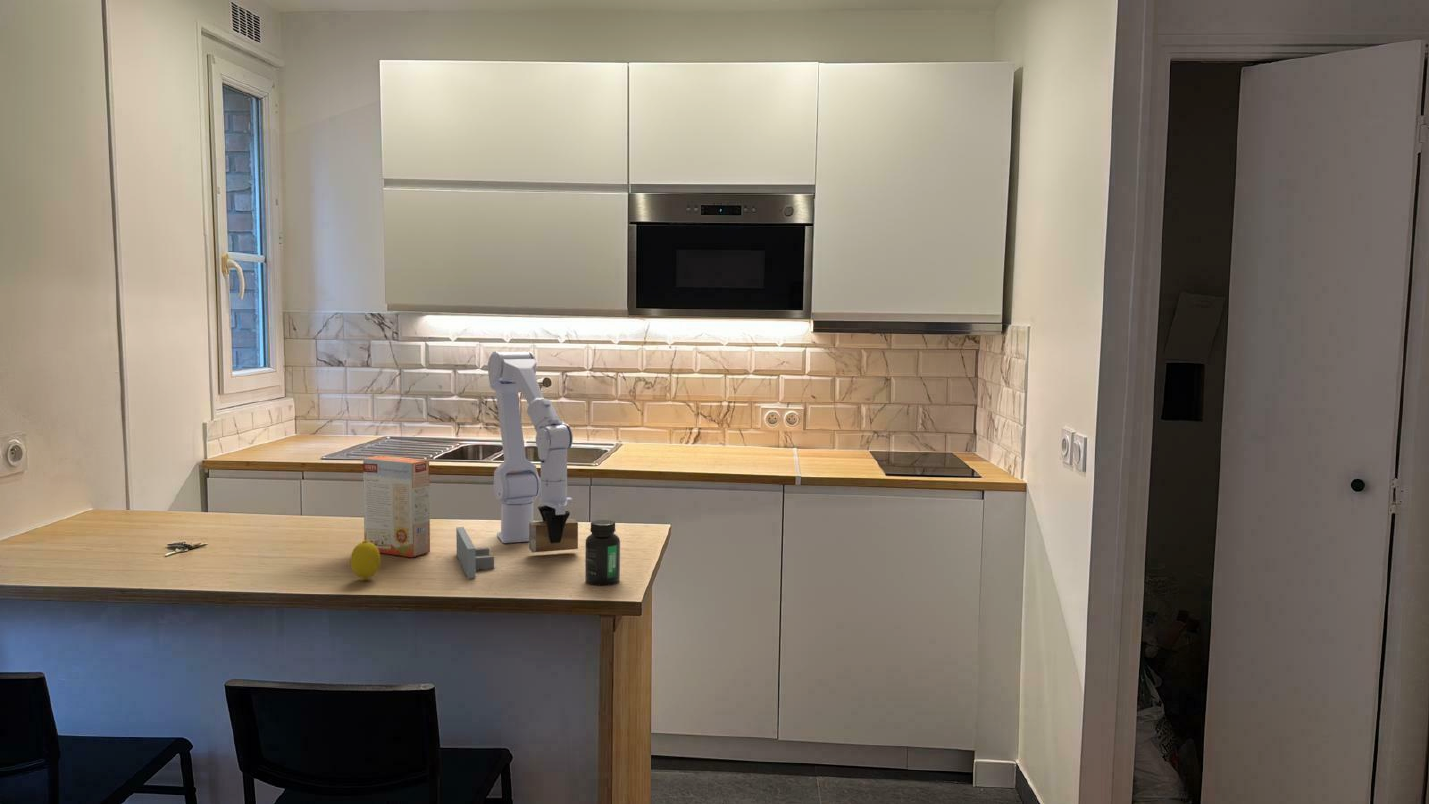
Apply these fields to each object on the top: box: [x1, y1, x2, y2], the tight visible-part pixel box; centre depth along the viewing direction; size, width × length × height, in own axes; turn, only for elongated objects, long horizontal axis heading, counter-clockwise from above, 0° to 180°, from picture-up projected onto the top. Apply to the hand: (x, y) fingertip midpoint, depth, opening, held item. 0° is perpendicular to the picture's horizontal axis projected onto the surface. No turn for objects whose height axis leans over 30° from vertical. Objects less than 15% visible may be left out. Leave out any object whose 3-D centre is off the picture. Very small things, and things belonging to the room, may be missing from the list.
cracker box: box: [362, 455, 431, 558], centre depth 206 cm, size 14×6×21 cm, turn 65°
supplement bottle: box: [584, 519, 621, 587], centre depth 187 cm, size 7×7×12 cm
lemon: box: [350, 539, 381, 581], centre depth 185 cm, size 6×6×8 cm
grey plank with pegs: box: [455, 526, 495, 579], centre depth 198 cm, size 20×6×6 cm, turn 22°
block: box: [528, 518, 579, 553], centre depth 207 cm, size 4×10×6 cm, turn 112°
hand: (553, 540), depth 207 cm, fingers closed on block, 3 cm apart
